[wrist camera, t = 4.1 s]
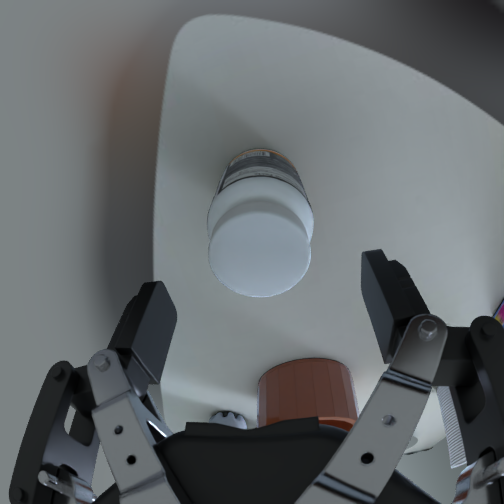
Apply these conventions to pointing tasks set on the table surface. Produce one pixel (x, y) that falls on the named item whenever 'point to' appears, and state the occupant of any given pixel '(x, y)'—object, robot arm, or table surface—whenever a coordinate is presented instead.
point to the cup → (451, 427)
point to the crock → (308, 393)
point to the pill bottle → (260, 225)
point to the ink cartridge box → (500, 314)
